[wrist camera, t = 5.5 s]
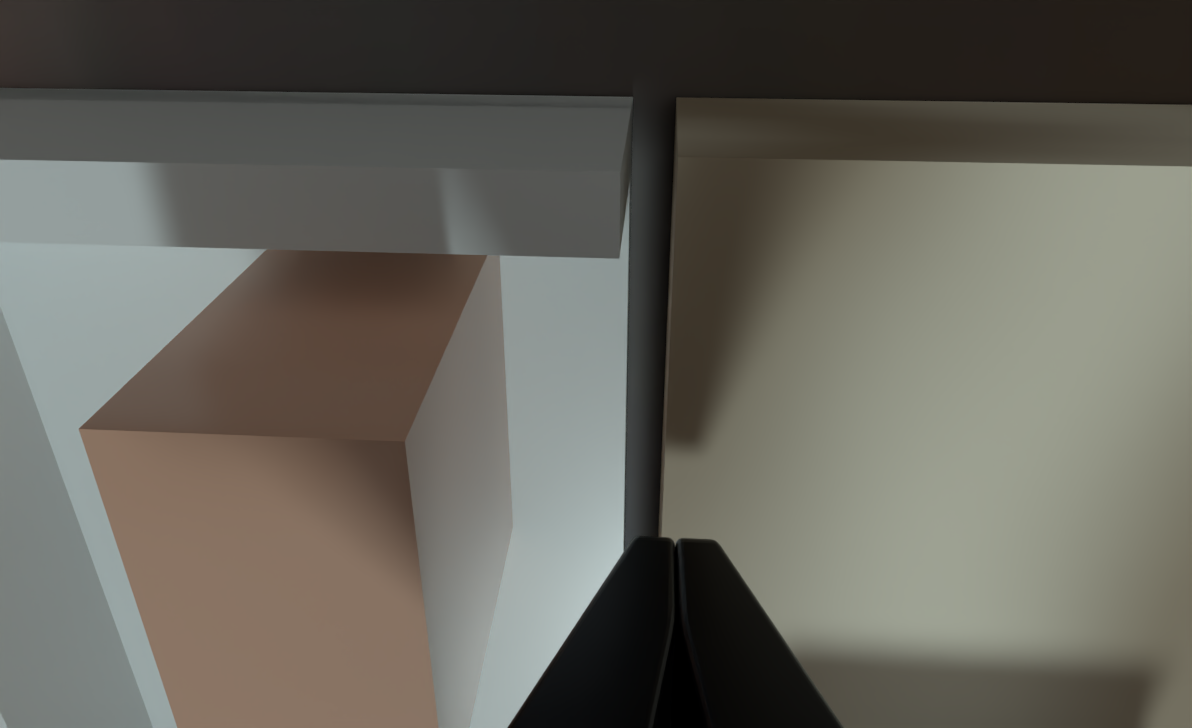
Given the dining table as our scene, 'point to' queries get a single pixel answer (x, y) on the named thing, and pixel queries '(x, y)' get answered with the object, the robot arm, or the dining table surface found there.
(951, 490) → the board
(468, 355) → the tile
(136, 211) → the tray
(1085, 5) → the dining table surface
